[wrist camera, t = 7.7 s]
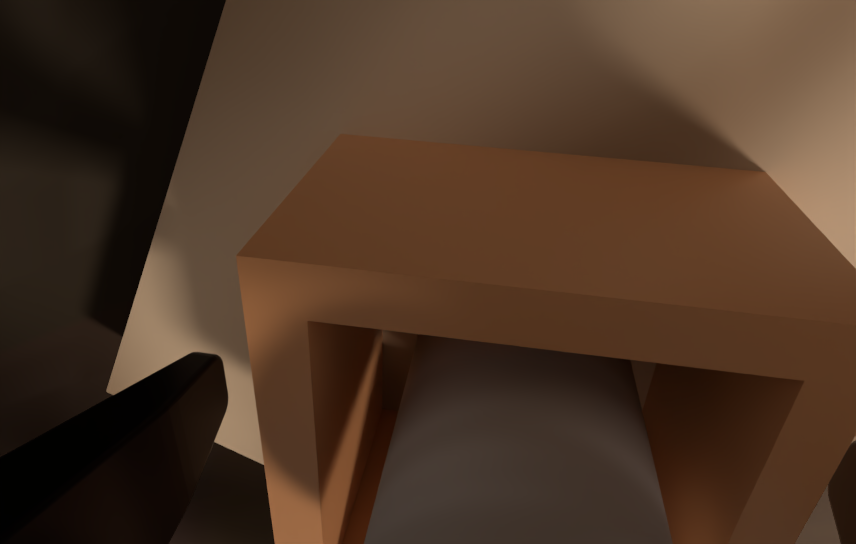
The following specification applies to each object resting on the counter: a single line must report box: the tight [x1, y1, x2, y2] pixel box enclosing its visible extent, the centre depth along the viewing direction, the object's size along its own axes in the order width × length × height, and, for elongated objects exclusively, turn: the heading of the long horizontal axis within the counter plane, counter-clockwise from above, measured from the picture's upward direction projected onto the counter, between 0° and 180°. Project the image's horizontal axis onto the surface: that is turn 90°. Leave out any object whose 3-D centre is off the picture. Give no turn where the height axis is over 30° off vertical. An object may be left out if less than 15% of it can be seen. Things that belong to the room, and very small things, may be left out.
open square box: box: [236, 134, 856, 544], centre depth 9 cm, size 6×6×4 cm
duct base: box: [106, 0, 856, 544], centre depth 9 cm, size 13×13×8 cm
